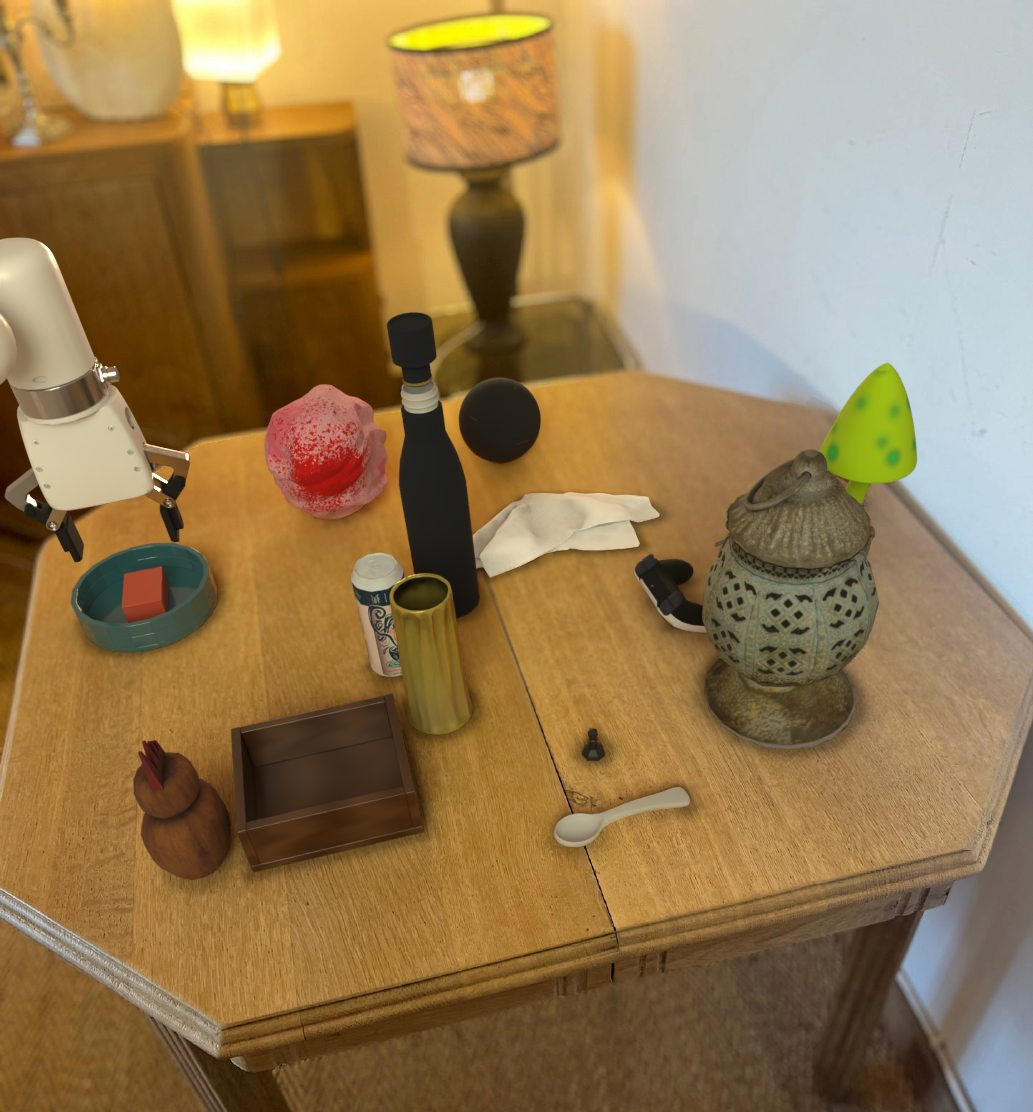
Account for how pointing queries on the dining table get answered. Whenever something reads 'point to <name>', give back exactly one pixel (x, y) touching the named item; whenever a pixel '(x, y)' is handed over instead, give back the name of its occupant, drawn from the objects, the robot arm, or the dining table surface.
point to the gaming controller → (670, 591)
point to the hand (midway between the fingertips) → (128, 544)
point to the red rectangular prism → (145, 594)
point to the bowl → (187, 611)
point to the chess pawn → (593, 747)
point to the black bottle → (431, 468)
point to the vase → (430, 654)
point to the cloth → (558, 527)
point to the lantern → (789, 607)
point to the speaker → (499, 420)
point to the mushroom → (873, 434)
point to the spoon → (614, 816)
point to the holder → (322, 783)
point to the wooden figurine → (180, 814)
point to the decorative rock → (327, 453)
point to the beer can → (378, 609)
